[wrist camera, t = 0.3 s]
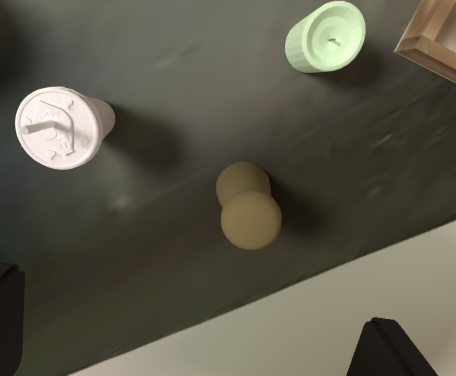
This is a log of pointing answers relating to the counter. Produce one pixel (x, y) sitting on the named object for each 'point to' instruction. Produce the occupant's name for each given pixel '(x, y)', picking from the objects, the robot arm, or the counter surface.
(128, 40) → the counter surface
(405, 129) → the counter surface
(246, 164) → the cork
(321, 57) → the candle
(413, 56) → the wooden tray
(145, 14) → the counter surface
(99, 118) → the smoothie
